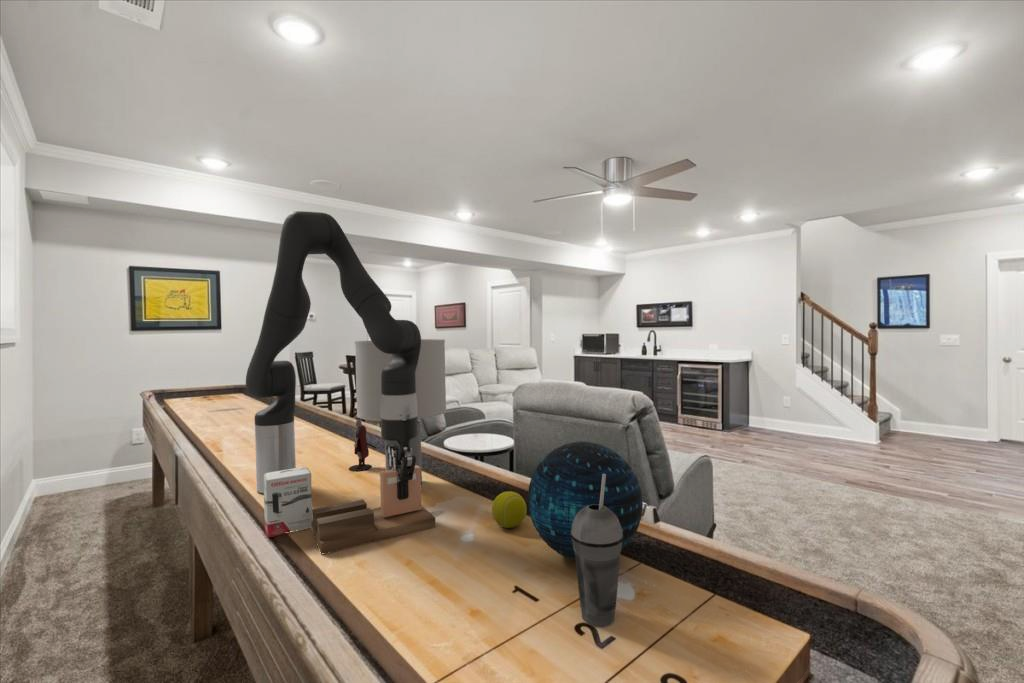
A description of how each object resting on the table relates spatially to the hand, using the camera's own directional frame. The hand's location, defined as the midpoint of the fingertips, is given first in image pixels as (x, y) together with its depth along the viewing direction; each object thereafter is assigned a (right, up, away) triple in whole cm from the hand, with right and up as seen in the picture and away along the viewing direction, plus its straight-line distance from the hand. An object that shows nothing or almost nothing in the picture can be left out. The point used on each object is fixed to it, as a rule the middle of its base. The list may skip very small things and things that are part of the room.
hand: (401, 496), depth 99 cm
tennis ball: (+23, -5, -3) cm, 24 cm away
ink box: (-23, -6, -2) cm, 24 cm away
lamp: (-5, -5, +25) cm, 26 cm away
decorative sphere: (+36, -5, -16) cm, 40 cm away
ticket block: (-5, -6, -3) cm, 8 cm away
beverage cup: (+35, -6, -34) cm, 49 cm away
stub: (0, -3, 0) cm, 3 cm away
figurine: (-21, -5, +41) cm, 46 cm away
